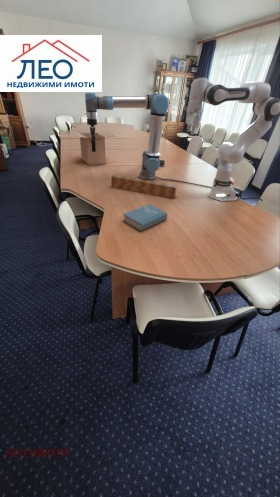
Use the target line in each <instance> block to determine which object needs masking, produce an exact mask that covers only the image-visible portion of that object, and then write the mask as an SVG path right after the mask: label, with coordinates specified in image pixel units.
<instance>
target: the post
mask: <svg viewBox="0 0 280 497" xmlns="http://www.w3.org/2000/svg"><path fill="white" fill-rule="evenodd" d="M110 184H111V185H110V187H111V188H114V189H120V190H126V191H130V192H135V193H141V194H146V195H152V196H157V197H163V198H168V199H172V200H174V199H175V198H176V194H177V187H178V185H176V184H171V183H165V182H159V181H154V180H145V179H141V178H135V177H130V176H124V175H119V174H112V175H111V176H110Z"/></svg>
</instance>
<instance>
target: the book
mask: <svg viewBox="0 0 280 497" xmlns="http://www.w3.org/2000/svg"><path fill="white" fill-rule="evenodd" d="M167 219H168V212H167V211H164V210H162V209H161V208H158V207H156V206H153V205H152V204H150V203H148V204H146V205H143V206H140V207H138V208H135V209H132V210H130V211H127V212H125V213H123V220H122V221H123V222H124V223H126V224H128V225H129V226H130V227H132V228H134V229H135V230H138V231H139V232H142V231H144V230H147V229H148V228H151V227H152V226H155V225H157V224H159V223H161V222H164V221H166V220H167Z"/></svg>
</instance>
